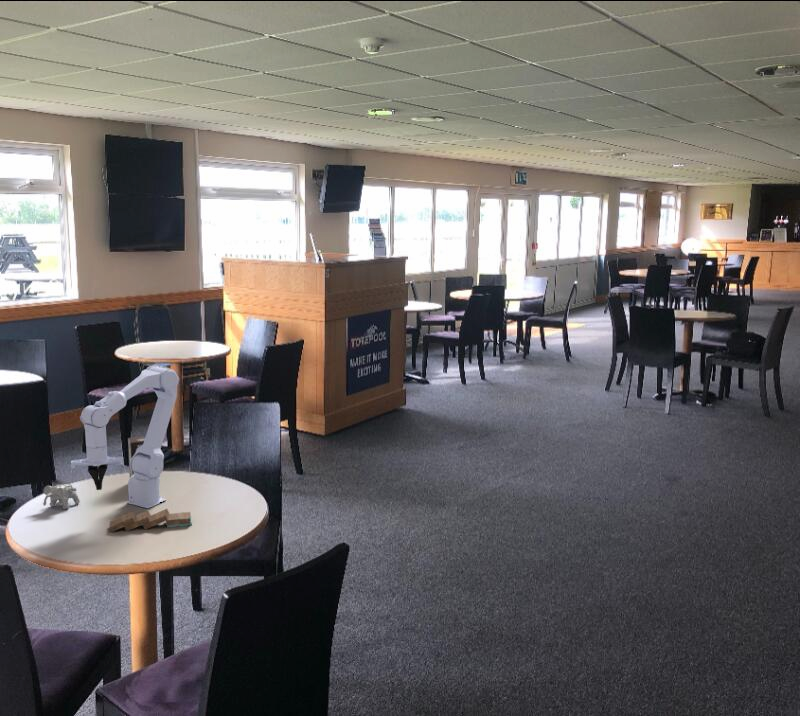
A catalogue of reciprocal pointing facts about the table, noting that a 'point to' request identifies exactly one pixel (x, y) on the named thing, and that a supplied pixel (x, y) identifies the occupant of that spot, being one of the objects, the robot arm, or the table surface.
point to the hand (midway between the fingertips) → (99, 488)
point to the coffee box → (134, 448)
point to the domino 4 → (178, 518)
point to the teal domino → (180, 524)
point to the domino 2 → (139, 520)
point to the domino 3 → (157, 518)
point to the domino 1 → (122, 521)
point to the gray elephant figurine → (60, 495)
